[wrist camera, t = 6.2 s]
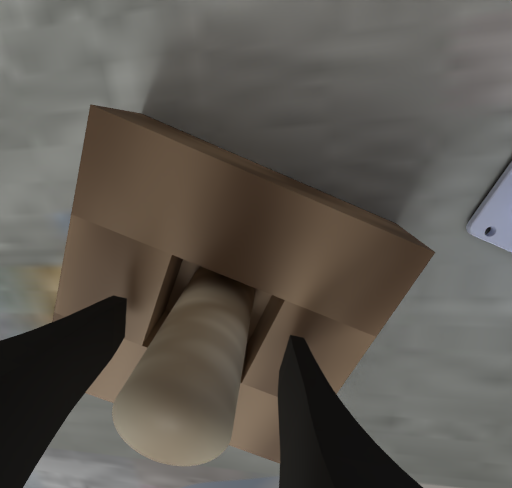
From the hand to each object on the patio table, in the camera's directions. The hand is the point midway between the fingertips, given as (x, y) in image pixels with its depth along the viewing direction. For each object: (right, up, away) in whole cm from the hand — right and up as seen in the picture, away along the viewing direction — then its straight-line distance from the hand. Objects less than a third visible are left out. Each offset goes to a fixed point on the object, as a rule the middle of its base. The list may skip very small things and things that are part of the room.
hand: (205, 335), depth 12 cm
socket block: (0, +2, +5) cm, 5 cm away
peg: (0, +1, +4) cm, 4 cm away
